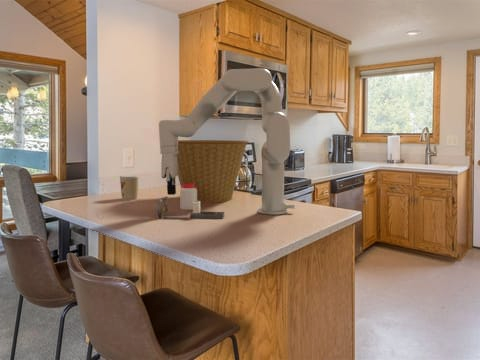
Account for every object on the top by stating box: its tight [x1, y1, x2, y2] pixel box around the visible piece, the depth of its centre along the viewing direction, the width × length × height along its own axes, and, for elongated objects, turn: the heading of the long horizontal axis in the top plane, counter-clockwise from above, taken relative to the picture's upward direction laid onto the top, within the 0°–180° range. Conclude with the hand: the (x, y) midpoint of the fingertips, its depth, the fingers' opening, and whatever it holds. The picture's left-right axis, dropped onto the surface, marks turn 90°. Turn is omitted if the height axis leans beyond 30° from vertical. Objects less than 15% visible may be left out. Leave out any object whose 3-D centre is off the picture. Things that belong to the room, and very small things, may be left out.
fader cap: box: [192, 201, 201, 213], centre depth 156 cm, size 2×4×5 cm, turn 176°
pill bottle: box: [179, 183, 197, 210], centre depth 175 cm, size 8×8×11 cm
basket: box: [177, 139, 250, 204], centre depth 200 cm, size 42×42×30 cm
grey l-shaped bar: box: [157, 199, 188, 220], centre depth 152 cm, size 12×1×8 cm, turn 86°
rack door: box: [160, 196, 169, 216], centre depth 159 cm, size 10×1×6 cm, turn 177°
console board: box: [190, 210, 225, 220], centre depth 157 cm, size 13×6×2 cm, turn 86°
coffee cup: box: [119, 174, 139, 201], centre depth 198 cm, size 9×9×12 cm
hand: (171, 194), depth 160 cm, fingers closed
